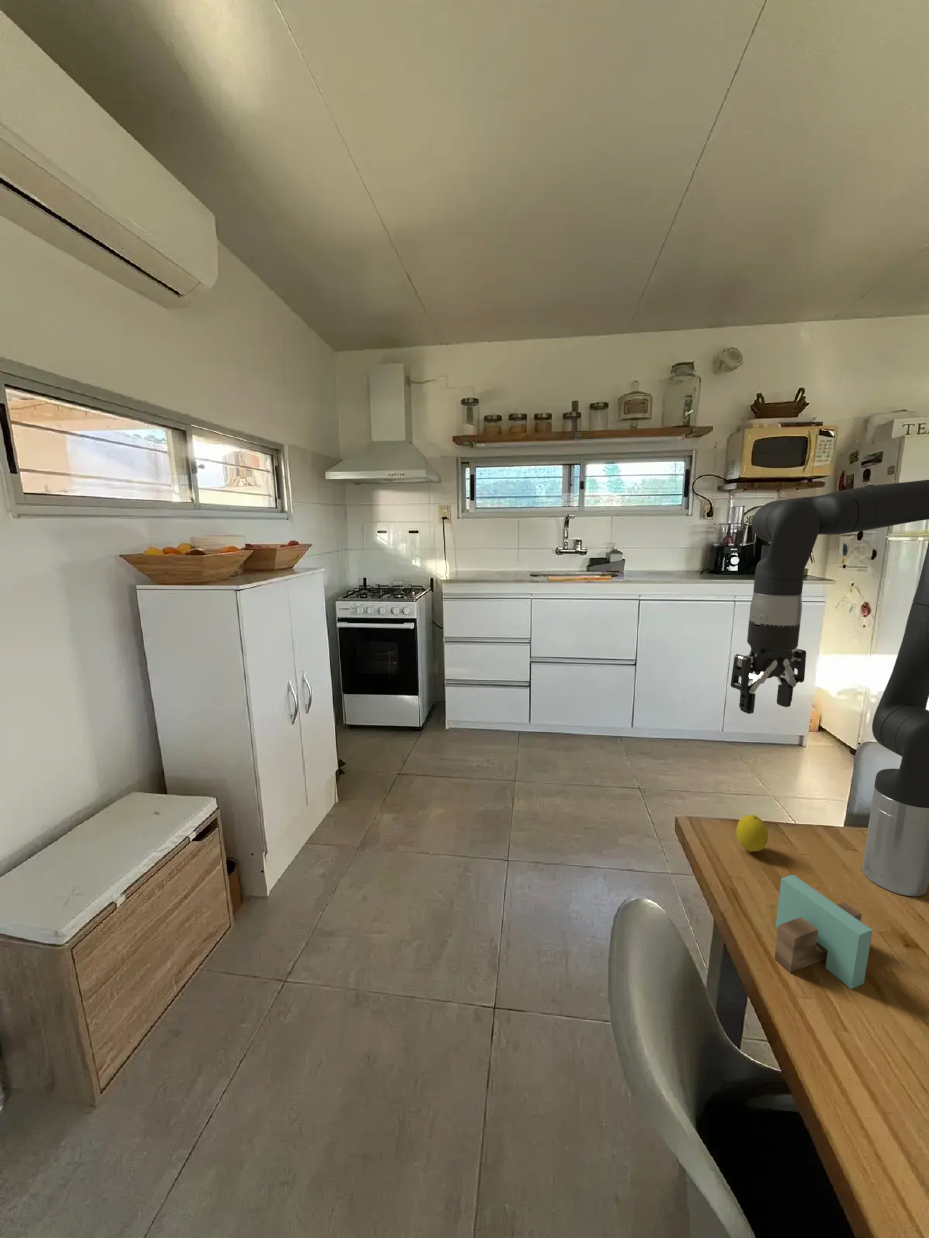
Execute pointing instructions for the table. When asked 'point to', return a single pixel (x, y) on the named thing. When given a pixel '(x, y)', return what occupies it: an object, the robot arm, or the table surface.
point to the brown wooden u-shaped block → (802, 942)
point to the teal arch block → (828, 929)
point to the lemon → (752, 833)
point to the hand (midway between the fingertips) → (765, 708)
